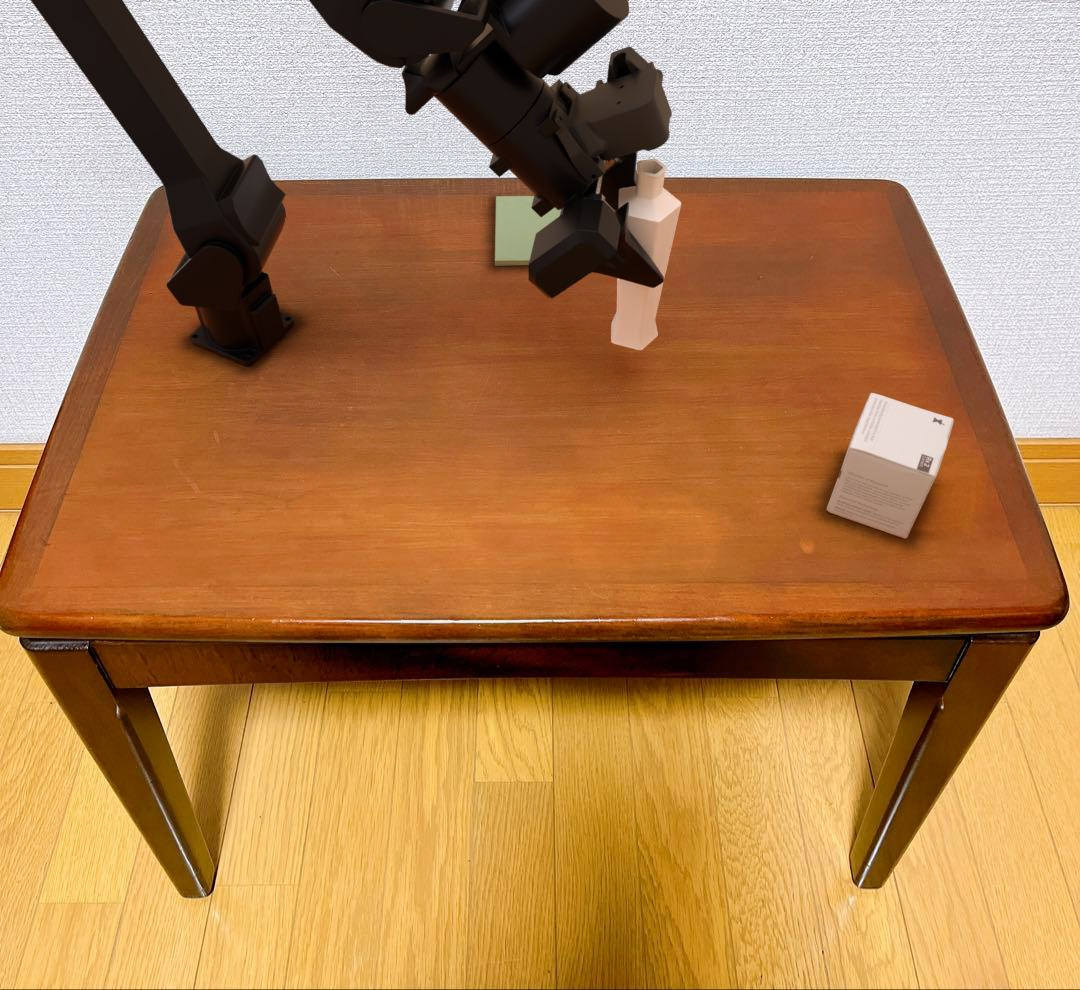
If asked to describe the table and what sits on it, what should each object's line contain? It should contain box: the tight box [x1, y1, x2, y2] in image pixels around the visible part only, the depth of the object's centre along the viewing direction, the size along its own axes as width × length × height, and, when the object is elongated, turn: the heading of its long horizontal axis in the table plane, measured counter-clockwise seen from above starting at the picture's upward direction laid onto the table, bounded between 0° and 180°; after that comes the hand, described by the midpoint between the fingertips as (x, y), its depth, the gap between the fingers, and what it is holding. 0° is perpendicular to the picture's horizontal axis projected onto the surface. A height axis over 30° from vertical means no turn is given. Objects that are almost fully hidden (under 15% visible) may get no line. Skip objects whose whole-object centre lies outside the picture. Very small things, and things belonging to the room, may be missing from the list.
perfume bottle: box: [610, 158, 682, 351], centre depth 75 cm, size 5×4×15 cm
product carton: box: [826, 392, 955, 539], centre depth 72 cm, size 6×6×7 cm
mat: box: [494, 195, 561, 267], centre depth 96 cm, size 14×10×1 cm
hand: (661, 263), depth 75 cm, fingers closed on perfume bottle, 4 cm apart
